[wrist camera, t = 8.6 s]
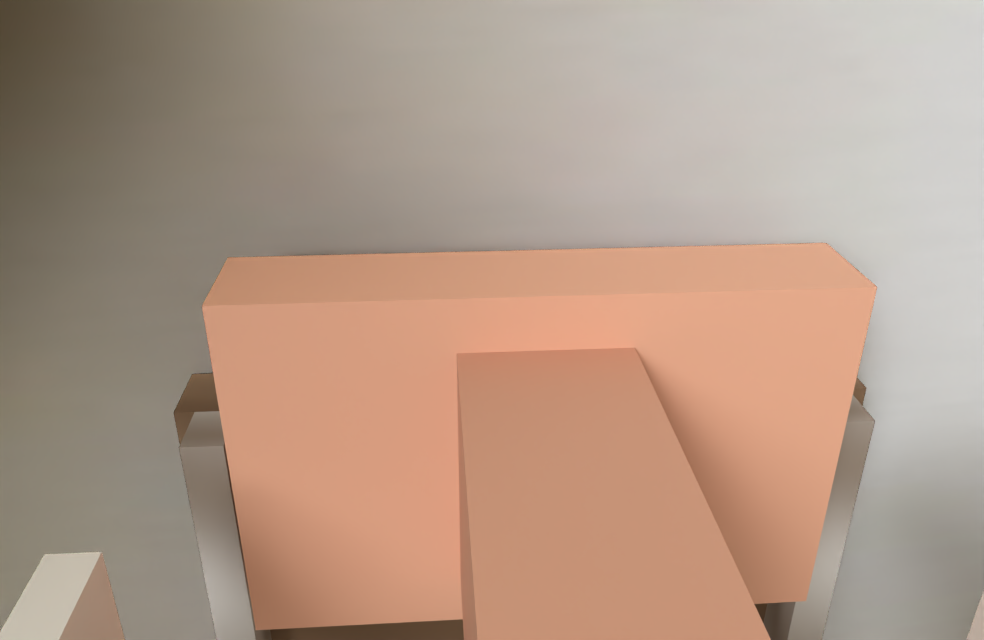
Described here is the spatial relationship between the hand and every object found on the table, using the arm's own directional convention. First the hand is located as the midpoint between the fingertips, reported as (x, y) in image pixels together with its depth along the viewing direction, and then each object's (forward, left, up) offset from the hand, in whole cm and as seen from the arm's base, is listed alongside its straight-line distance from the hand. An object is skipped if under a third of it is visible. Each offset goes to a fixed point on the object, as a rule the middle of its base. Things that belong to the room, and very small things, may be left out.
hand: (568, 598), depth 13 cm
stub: (0, 0, -5) cm, 5 cm away
